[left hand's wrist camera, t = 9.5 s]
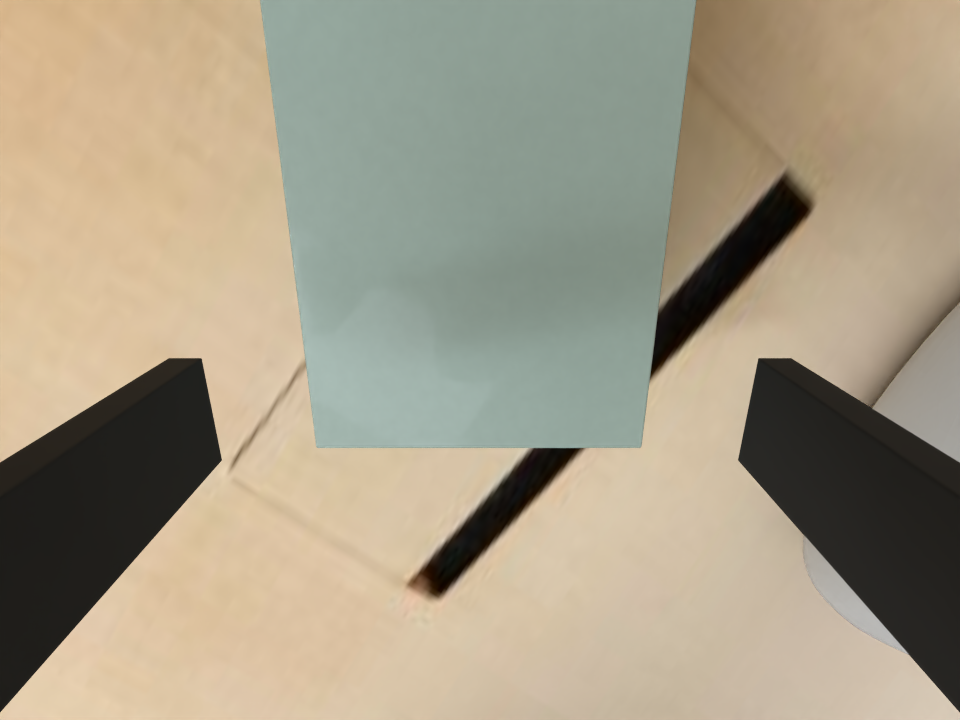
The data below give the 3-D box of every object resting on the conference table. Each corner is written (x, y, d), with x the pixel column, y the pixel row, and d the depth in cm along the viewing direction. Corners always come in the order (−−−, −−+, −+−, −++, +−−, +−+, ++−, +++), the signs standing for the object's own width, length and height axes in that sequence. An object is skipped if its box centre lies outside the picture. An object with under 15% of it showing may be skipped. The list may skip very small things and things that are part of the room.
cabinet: (337, -98, 21) (219, -316, 12) (620, -98, 21) (736, -316, 12) (372, 351, 28) (315, 448, 19) (586, 351, 28) (641, 448, 19)
